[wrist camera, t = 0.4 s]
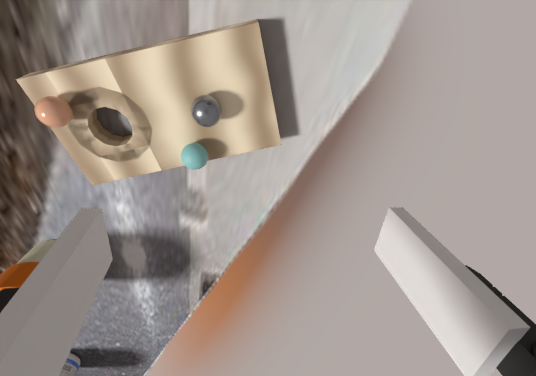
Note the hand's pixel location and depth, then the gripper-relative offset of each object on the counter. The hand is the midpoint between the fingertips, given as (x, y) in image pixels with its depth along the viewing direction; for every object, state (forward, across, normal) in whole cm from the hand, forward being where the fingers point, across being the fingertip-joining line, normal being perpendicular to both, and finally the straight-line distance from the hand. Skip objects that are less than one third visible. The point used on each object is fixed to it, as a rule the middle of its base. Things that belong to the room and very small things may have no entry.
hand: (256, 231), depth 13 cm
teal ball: (+20, -4, -5) cm, 21 cm away
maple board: (+24, -8, 0) cm, 25 cm away
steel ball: (+19, -3, +1) cm, 19 cm away
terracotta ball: (+20, -18, 0) cm, 27 cm away
